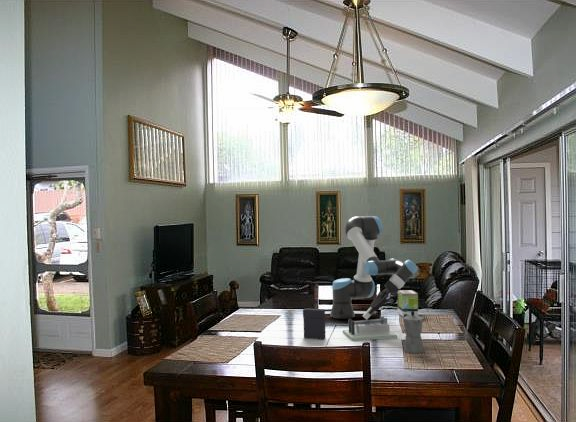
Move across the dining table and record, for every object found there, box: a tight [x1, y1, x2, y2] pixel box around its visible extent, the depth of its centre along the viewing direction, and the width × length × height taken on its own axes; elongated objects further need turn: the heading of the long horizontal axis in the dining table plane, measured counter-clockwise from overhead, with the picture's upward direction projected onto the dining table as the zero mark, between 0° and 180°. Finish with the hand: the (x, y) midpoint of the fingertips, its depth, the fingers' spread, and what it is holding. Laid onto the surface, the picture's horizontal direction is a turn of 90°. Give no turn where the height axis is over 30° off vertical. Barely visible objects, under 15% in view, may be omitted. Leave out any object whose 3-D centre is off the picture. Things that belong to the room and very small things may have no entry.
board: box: [342, 329, 398, 342], centre depth 257 cm, size 24×18×2 cm
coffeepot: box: [402, 311, 424, 354], centre depth 227 cm, size 15×9×18 cm, turn 13°
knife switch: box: [347, 315, 391, 336], centre depth 257 cm, size 19×12×8 cm, turn 99°
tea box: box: [396, 289, 419, 318], centre depth 309 cm, size 15×10×15 cm, turn 179°
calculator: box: [302, 308, 327, 341], centre depth 253 cm, size 11×4×15 cm, turn 65°
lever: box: [353, 318, 383, 325], centre depth 257 cm, size 18×3×2 cm, turn 99°
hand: (364, 317), depth 256 cm, fingers closed
